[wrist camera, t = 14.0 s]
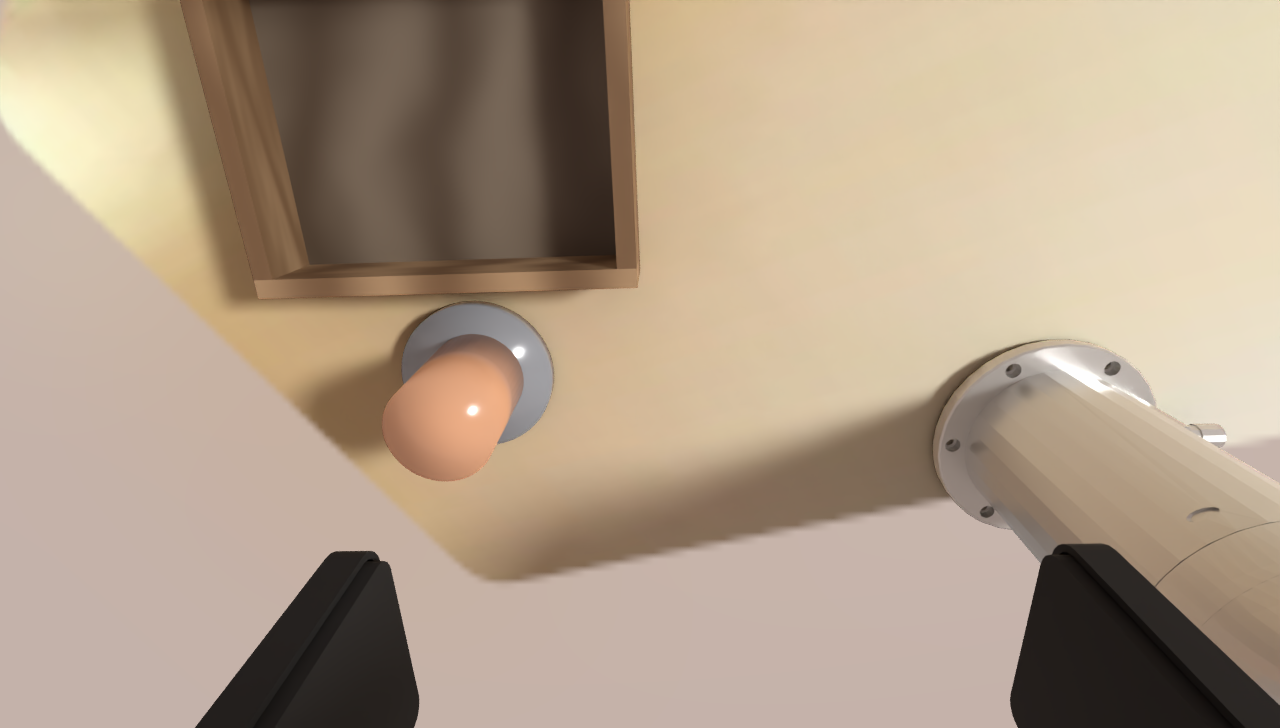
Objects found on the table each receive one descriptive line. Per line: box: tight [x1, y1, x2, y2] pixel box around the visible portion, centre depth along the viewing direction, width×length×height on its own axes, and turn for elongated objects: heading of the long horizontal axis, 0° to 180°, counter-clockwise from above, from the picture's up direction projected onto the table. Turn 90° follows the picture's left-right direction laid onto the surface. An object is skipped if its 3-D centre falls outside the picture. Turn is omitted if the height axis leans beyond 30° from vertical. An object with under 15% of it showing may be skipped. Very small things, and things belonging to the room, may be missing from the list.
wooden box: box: [180, 0, 640, 299], centre depth 32 cm, size 20×16×4 cm
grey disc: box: [402, 301, 554, 444], centre depth 38 cm, size 9×9×1 cm
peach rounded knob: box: [382, 334, 524, 481], centre depth 34 cm, size 6×6×7 cm
